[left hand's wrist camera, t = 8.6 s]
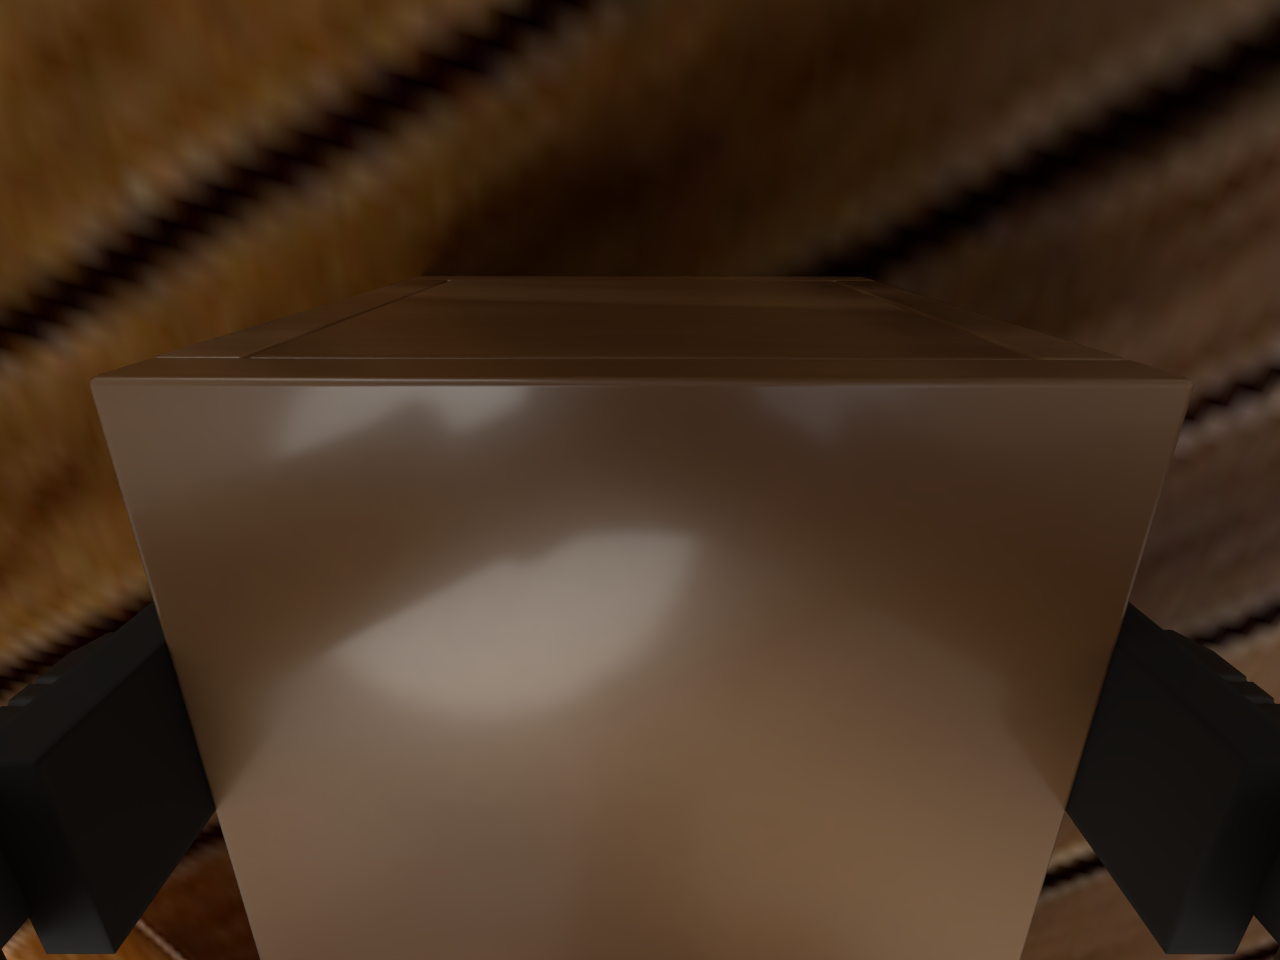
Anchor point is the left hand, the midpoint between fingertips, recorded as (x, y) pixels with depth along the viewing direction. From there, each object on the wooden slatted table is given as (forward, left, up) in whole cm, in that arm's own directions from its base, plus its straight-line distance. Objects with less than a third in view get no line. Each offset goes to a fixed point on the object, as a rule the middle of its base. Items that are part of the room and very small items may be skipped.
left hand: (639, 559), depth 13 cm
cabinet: (+3, +5, -7) cm, 9 cm away
